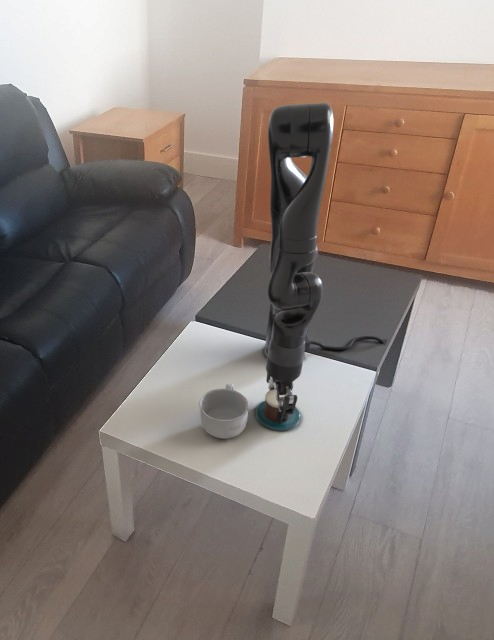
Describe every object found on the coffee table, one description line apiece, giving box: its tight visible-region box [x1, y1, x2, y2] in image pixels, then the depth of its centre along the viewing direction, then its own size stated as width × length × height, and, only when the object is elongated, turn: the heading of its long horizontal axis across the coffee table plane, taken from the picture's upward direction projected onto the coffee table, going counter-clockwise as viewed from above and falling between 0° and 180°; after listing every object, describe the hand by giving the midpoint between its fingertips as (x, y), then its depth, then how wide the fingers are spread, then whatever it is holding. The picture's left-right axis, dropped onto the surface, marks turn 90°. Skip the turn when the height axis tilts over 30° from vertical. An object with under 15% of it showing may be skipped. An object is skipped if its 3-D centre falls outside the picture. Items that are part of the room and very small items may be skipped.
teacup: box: [198, 382, 249, 439], centre depth 136 cm, size 14×11×8 cm
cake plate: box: [255, 400, 301, 432], centre depth 140 cm, size 10×10×1 cm
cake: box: [264, 389, 290, 422], centre depth 138 cm, size 6×6×5 cm
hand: (277, 411), depth 139 cm, fingers closed on cake, 6 cm apart
